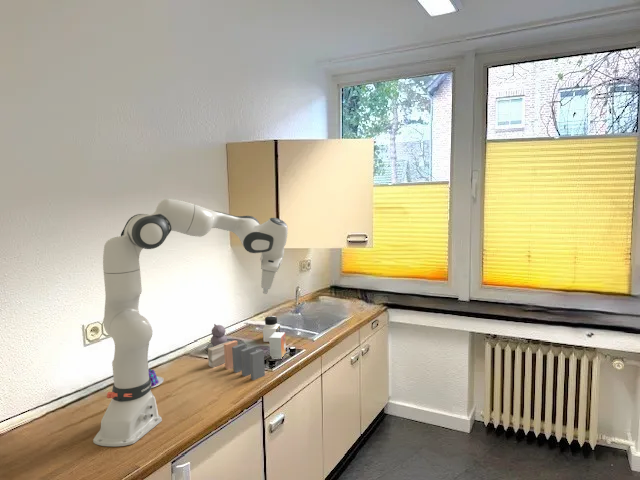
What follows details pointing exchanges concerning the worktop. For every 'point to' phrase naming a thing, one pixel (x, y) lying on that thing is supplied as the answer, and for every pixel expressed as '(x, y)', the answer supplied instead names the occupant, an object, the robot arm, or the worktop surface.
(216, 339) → the cat figurine
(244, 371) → the domino
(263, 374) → the domino
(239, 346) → the domino
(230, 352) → the end domino
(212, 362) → the stop
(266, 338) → the medicine bottle
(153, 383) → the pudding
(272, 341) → the small box
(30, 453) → the worktop surface
